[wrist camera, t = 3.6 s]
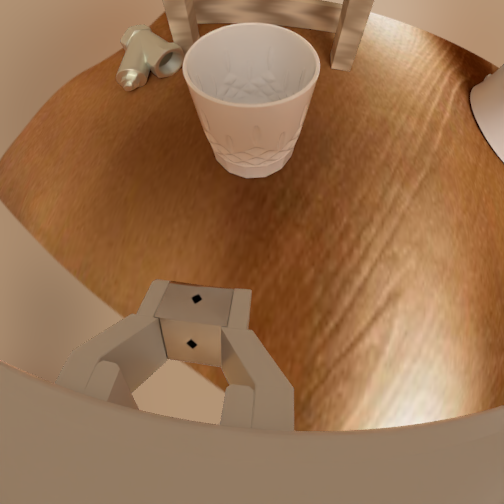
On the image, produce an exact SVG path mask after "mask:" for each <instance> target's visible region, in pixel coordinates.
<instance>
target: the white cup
mask: <svg viewBox="0 0 504 504" xmlns="http://www.w3.org/2000/svg"><path fill="white" fill-rule="evenodd" d="M319 73H320V60H319V57H318V54H317V52H316V51H315V49H314V48H313V46H312V45H311V44H310V43H309V42H308V41H307V40H306V39H304V38H303V37H302V36H300V35H299V34H297V33H295V32H293V31H291V30H289V29H286V28H284V27H280V26H277V25H272V24H267V23H255V22H249V23H238V24H232V25H228V26H224V27H221V28H218V29H216V30H213V31H211V32H209V33H207V34H205V35H204V36H202V37H201V38H200V39H198V40H197V41H196V42H195V43H194V44H193V45H192V46H191V47H190V48H189V50H188V51H187V53H186V55H185V57H184V60H183V75H184V78H185V80H186V83H187V86H188V89H189V91H190V94H191V97H192V100H193V103H194V105H195V108H196V111H197V114H198V117H199V119H200V122H201V125H202V127H203V130H204V132H205V134H206V137H207V139H208V141H209V142H210V144H211V146H212V149H213V152H214V155H215V158H216V160H217V161H218V162H219V163H220V164H221V165H222V166H223V167H224V168H225V169H226V170H227V171H228V172H229V173H232V174H235V175H238V176H241V177H244V178H259V177H267V176H269V175H271V174H273V173H275V172H277V171H279V170H281V169H282V168H283V166H284V165H285V164H286V162H287V161H288V160H289V158H290V157H291V156H292V153H293V149H294V146H295V143H296V141H297V139H298V137H299V135H300V132H301V128H302V126H303V123H304V121H305V117H306V114H307V111H308V108H309V104H310V101H311V98H312V95H313V92H314V89H315V85H316V82H317V79H318V76H319Z"/></svg>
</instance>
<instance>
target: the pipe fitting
mask: <svg viewBox="0 0 504 504" xmlns="http://www.w3.org/2000/svg"><path fill="white" fill-rule="evenodd" d="M120 43H121V44H122V46H123V48H124V49H125V51H126V52H125V55H124V57H123V60H122V62H121V65H120V67H119V70H118V72H117V75H116V81H117V82H118V83H119V84H120V85H121V86H122V87H123V88H124V89H125V90H126V91H131V90H133V89H135V88H137V87H142V86H144V85H145V84H146V82H147V78H148V75H149V72H150V69H151V71H152V73H153V74H155V75H156V76H157V77H158V78H164V77H168V76H171V75H173V74H175V73H176V72H177V71H178V70H179V69H180V68H181V66H182V65H183V60H184V57H185V55H184V53H183V50H182V48H181V47H180V46H179V45H177V44H175V43H174V42H173V43H169V42H167V41H165V40H164V39H162V38H161V37H159V36H158V35H156V34H154V33H153V32H152V31H151V29H150V28H149V27H148V26H146V25H136V26H132V27H129V28H128V29H127V31H126V32H125V33H124V35H123V37H122V38H121V40H120Z"/></svg>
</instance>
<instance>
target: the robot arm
mask: <svg viewBox="0 0 504 504" xmlns="http://www.w3.org/2000/svg"><path fill="white" fill-rule="evenodd" d="M470 102H471V107H472V110H473V113H474V116H475V118H476V121H477V123H478V125H479V127H480V129H481V131H482V132H483V134H484V136H485V138H486V139H487V141H488V142H489V144H490V145H491V147H492V148H493V150H494V151H495V152H496V154H497V155H498V156H499V157H500V159H501V160H502V161H503V162H504V64H503V65H502V66H501V67H500V68H499V69H498V70H497V71H496V72H494V73H493V74H489V75H487V76H486V77H485V79H484V81H483V82H481V83H479V84H478V85H476V86H474V87H473V88H472V90H471V93H470ZM251 295H252V291H251V290H249V289H237V288H235V289H233V288H223V287H213V286H204V285H197V284H190V283H183V282H176V281H167V280H160V279H155V280H154V281H153V282H152V284H151V286H150V287H149V289H148V291H147V293H146V295H145V297H144V299H143V301H142V303H141V305H140V307H139V309H138V311H137V314H130V315H129V316H127V317H125V318H124V319H122V320H121V321H119V322H117V323H116V324H114V325H112V326H111V327H109V328H108V329H106V330H104V331H103V332H101V333H99V334H98V335H96V336H95V337H93V338H91V339H90V340H88V341H86V342H85V343H83V344H82V345H80V346H78V347H77V348H75V349H74V350H72V352H71V353H70V355H69V357H68V359H67V361H66V363H65V365H64V366H63V368H62V370H61V372H60V374H59V376H58V378H57V380H56V382H55V384H54V383H52V382H49V381H46V380H44V379H41V378H39V377H37V376H34V375H32V374H30V373H28V372H25V371H23V370H21V369H19V368H16V367H14V366H12V365H10V364H8V363H6V362H4V361H2V360H0V504H504V405H503V406H500V407H496V408H492V409H489V410H485V411H481V412H477V413H473V414H469V415H465V416H460V417H455V418H450V419H445V420H440V421H434V422H428V423H422V424H415V425H408V426H400V427H391V428H381V429H369V430H352V431H294V388H293V387H292V385H291V384H290V382H289V381H288V380H287V378H286V377H285V376H284V374H283V373H282V371H281V370H280V369H279V367H278V366H277V364H276V363H275V362H274V360H273V359H272V357H271V356H270V355H269V353H268V352H267V350H266V349H265V347H264V346H263V345H262V343H261V342H260V340H259V339H258V338H257V336H256V335H255V333H254V332H253V330H248V328H249V317H250V306H251ZM167 359H171V360H178V361H185V362H193V363H199V364H205V365H211V366H217V367H222V370H223V373H224V375H225V377H226V379H227V381H228V383H229V385H230V386H228V387H227V388H226V392H225V399H224V404H223V410H222V416H221V422H220V425H216V424H209V423H202V422H196V421H189V420H184V419H179V418H174V417H169V416H164V415H159V414H154V413H150V412H146V411H141V410H139V409H138V406H137V404H136V402H135V400H134V398H133V396H132V394H131V393H132V392H133V391H134V390H136V389H137V388H138V387H139V386H140V385H141V384H142V383H143V382H144V381H146V380H147V379H148V378H149V377H150V376H151V375H152V374H153V373H154V372H155V371H156V370H157V369H159V368H160V367H161V366H162V365H163V364H164V363H165V362H166V361H167Z"/></svg>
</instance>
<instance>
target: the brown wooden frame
mask: <svg viewBox="0 0 504 504" xmlns="http://www.w3.org/2000/svg"><path fill="white" fill-rule="evenodd" d="M162 1H163V4H164V7H165V12H166V15H167V19H168V23H169V26H170V30H171V34H172V37H173V41H174V43H175V44H177V45H179V46H180V47H181V48H182V50H183V53H184V55H186V53H187V51H188V50H189V48H190V47H191V46H192V45H193V44H194V43H195V42H196V41H197V40H198V39H200V36H199V31H198V25H197V24H206V23H249V22H255V23H267V24H272V25H279V26H290V27H299V28H306V29H314V30H320V31H326V32H332V33H335V37H334V41H333V45H332V49H331V53H330V60H331V68H332V69H338V70H344V71H349V72H350V70H351V67H352V64H353V61H354V58H355V55H356V52H357V50H358V47H359V44H360V41H361V38H362V35H363V32H364V29H365V26H366V23H367V20H368V17H369V14H370V11H371V8H372V5H373V2H374V0H344V1H343V4H338V3H333V2H327V1H321V0H162Z"/></svg>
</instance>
